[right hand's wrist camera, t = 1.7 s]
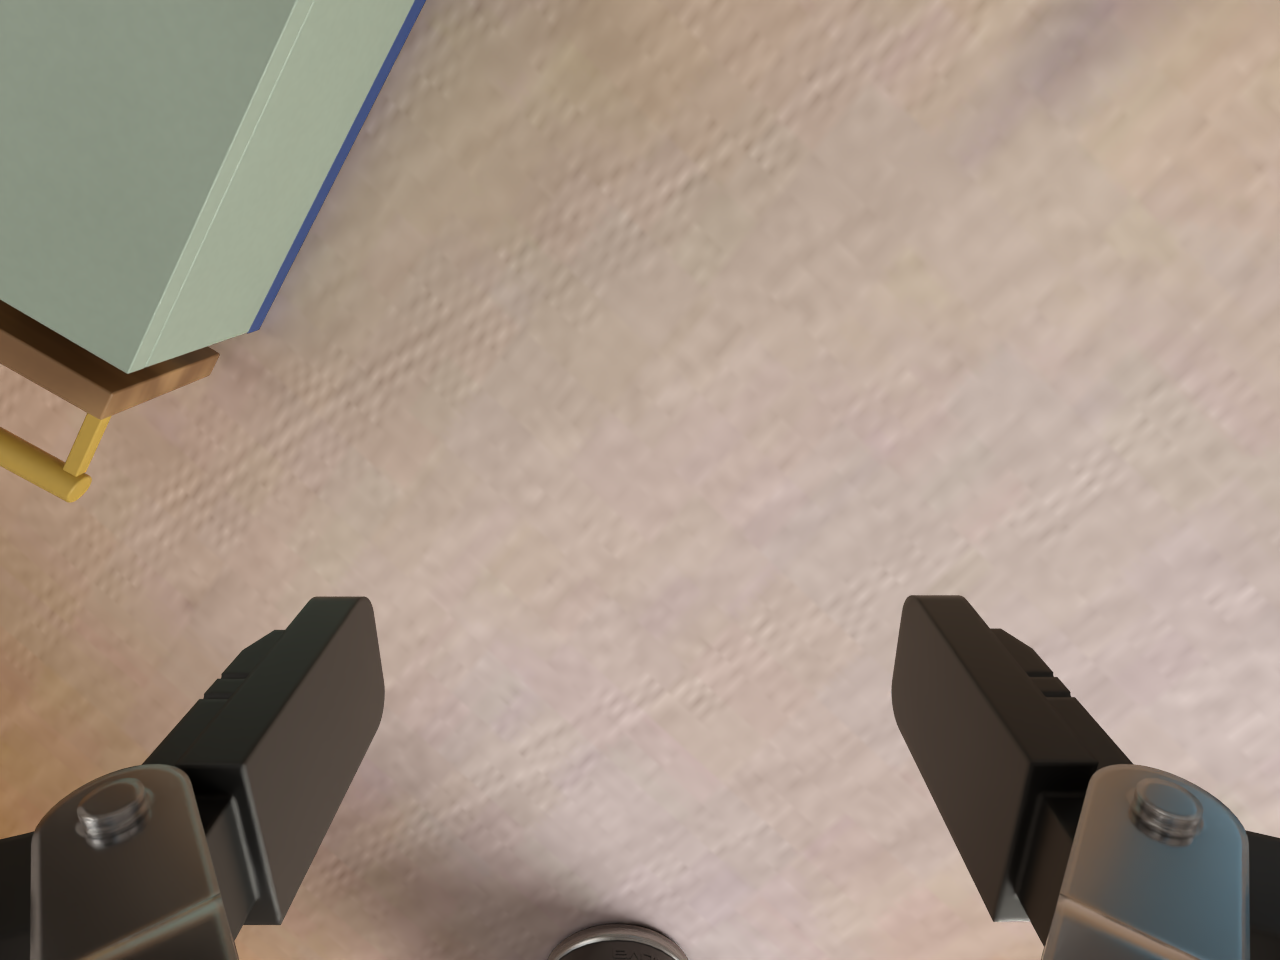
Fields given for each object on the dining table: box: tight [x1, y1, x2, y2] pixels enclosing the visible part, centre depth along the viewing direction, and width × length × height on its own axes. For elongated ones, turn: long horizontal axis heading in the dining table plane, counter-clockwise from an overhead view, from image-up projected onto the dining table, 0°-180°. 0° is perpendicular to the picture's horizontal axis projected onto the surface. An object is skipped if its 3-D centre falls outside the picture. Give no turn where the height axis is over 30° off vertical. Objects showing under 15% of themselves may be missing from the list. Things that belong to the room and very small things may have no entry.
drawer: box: [0, 300, 220, 502], centre depth 26 cm, size 26×9×7 cm, turn 145°
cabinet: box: [0, 0, 426, 374], centre depth 25 cm, size 21×10×9 cm, turn 145°
